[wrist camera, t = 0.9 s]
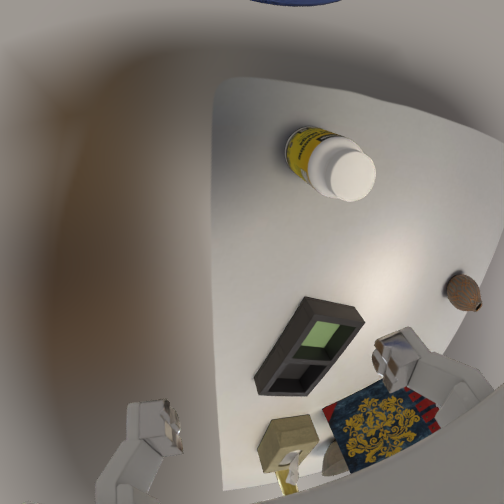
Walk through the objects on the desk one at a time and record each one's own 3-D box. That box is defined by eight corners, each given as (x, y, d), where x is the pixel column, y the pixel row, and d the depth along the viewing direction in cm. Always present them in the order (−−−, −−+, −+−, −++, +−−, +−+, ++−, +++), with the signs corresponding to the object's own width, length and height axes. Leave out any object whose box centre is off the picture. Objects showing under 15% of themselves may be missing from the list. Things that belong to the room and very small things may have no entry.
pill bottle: (314, 115, 32) (365, 128, 23) (339, 156, 35) (392, 183, 26) (272, 146, 33) (309, 170, 24) (301, 185, 36) (343, 223, 27)
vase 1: (278, 463, 81) (290, 498, 69) (293, 461, 83) (305, 496, 71) (270, 469, 83) (280, 503, 71) (285, 468, 86) (296, 501, 74)
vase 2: (441, 281, 52) (467, 307, 45) (463, 263, 52) (490, 286, 44) (442, 301, 56) (466, 326, 48) (464, 284, 55) (488, 307, 48)
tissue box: (271, 418, 63) (290, 476, 49) (309, 413, 65) (331, 467, 52) (256, 449, 71) (270, 497, 58) (289, 445, 74) (305, 490, 60)
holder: (304, 296, 45) (314, 313, 42) (354, 306, 49) (365, 322, 45) (253, 377, 53) (258, 395, 49) (300, 380, 56) (306, 396, 53)
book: (410, 360, 65) (460, 434, 44) (409, 373, 68) (454, 442, 47) (321, 408, 65) (358, 493, 44) (325, 417, 69) (360, 496, 48)
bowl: (361, 419, 76) (375, 445, 68) (368, 434, 86) (379, 456, 78) (305, 445, 77) (315, 472, 69) (320, 457, 87) (329, 479, 79)
